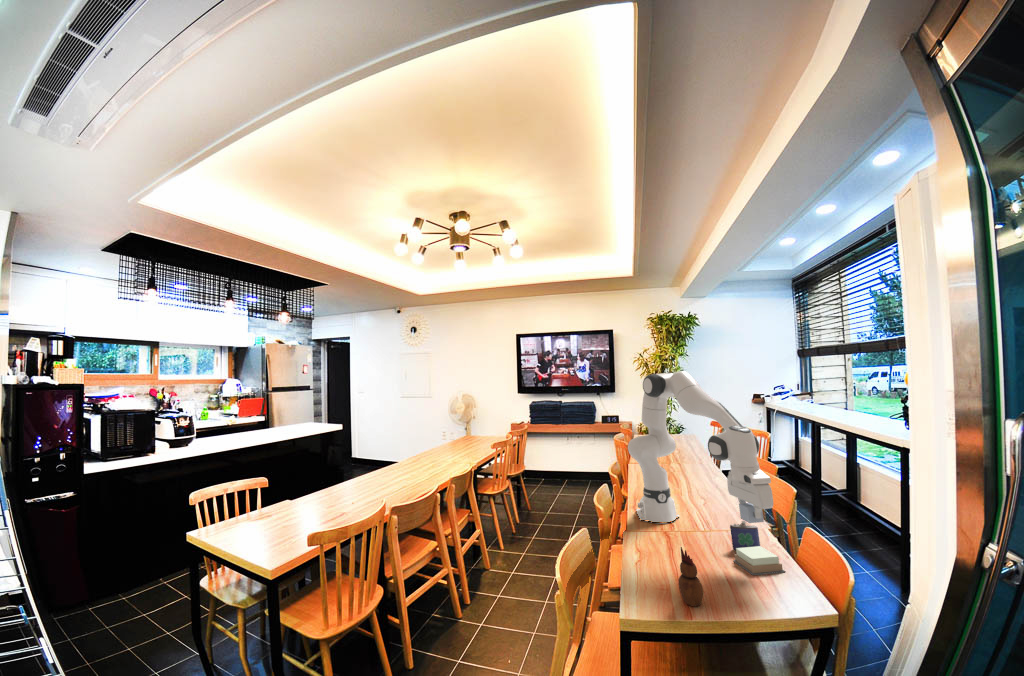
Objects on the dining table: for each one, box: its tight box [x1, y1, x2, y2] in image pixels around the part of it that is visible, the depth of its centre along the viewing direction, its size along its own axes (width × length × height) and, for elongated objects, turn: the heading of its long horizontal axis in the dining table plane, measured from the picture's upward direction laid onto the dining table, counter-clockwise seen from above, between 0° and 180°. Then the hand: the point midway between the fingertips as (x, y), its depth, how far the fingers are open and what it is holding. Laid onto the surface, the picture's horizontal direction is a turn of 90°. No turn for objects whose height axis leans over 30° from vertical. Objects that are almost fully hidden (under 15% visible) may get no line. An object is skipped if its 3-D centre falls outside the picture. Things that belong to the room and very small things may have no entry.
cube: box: [738, 502, 765, 524], centre depth 139 cm, size 5×5×5 cm
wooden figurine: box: [678, 546, 704, 607], centre depth 118 cm, size 7×6×15 cm
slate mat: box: [732, 559, 786, 576], centre depth 137 cm, size 11×11×1 cm
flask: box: [729, 520, 761, 552], centre depth 150 cm, size 9×3×11 cm, turn 68°
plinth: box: [734, 545, 784, 573], centre depth 137 cm, size 10×10×4 cm
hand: (751, 515), depth 139 cm, fingers closed on cube, 5 cm apart
